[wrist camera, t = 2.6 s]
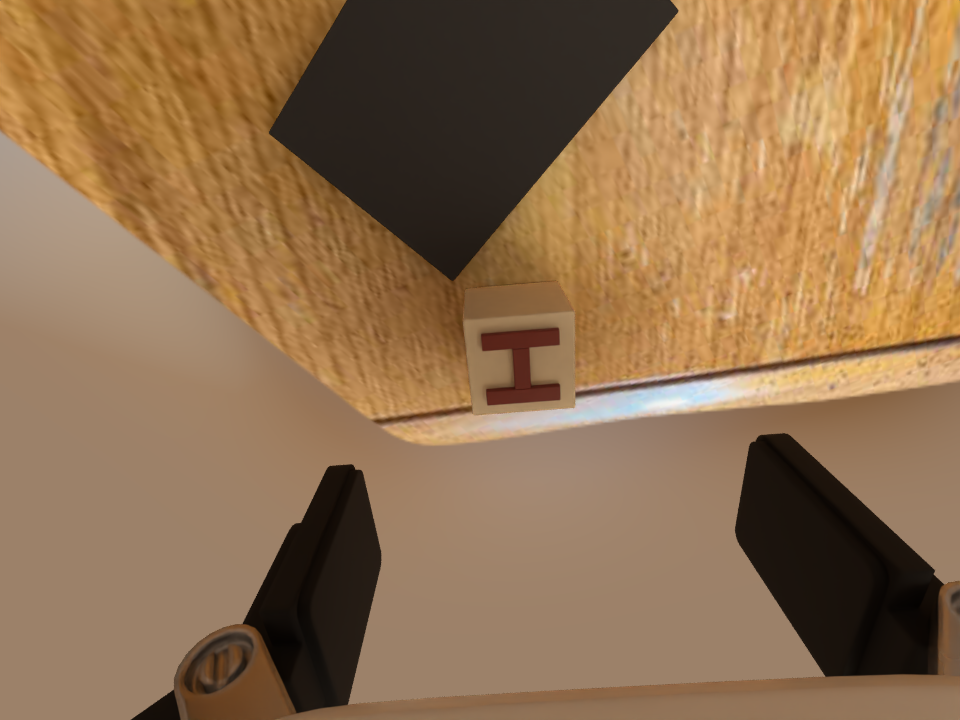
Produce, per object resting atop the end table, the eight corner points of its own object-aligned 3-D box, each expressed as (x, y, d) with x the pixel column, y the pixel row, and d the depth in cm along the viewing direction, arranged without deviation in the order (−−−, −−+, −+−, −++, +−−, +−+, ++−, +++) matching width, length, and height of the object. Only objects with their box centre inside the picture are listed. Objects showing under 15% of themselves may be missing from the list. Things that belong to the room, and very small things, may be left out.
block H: (473, 371, 25) (472, 419, 21) (465, 287, 24) (462, 322, 19) (559, 364, 25) (577, 412, 21) (557, 280, 23) (577, 313, 19)
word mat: (273, 133, 21) (267, 132, 20) (481, -216, 16) (482, -229, 16) (453, 278, 23) (452, 281, 23) (673, 14, 19) (679, 10, 18)
